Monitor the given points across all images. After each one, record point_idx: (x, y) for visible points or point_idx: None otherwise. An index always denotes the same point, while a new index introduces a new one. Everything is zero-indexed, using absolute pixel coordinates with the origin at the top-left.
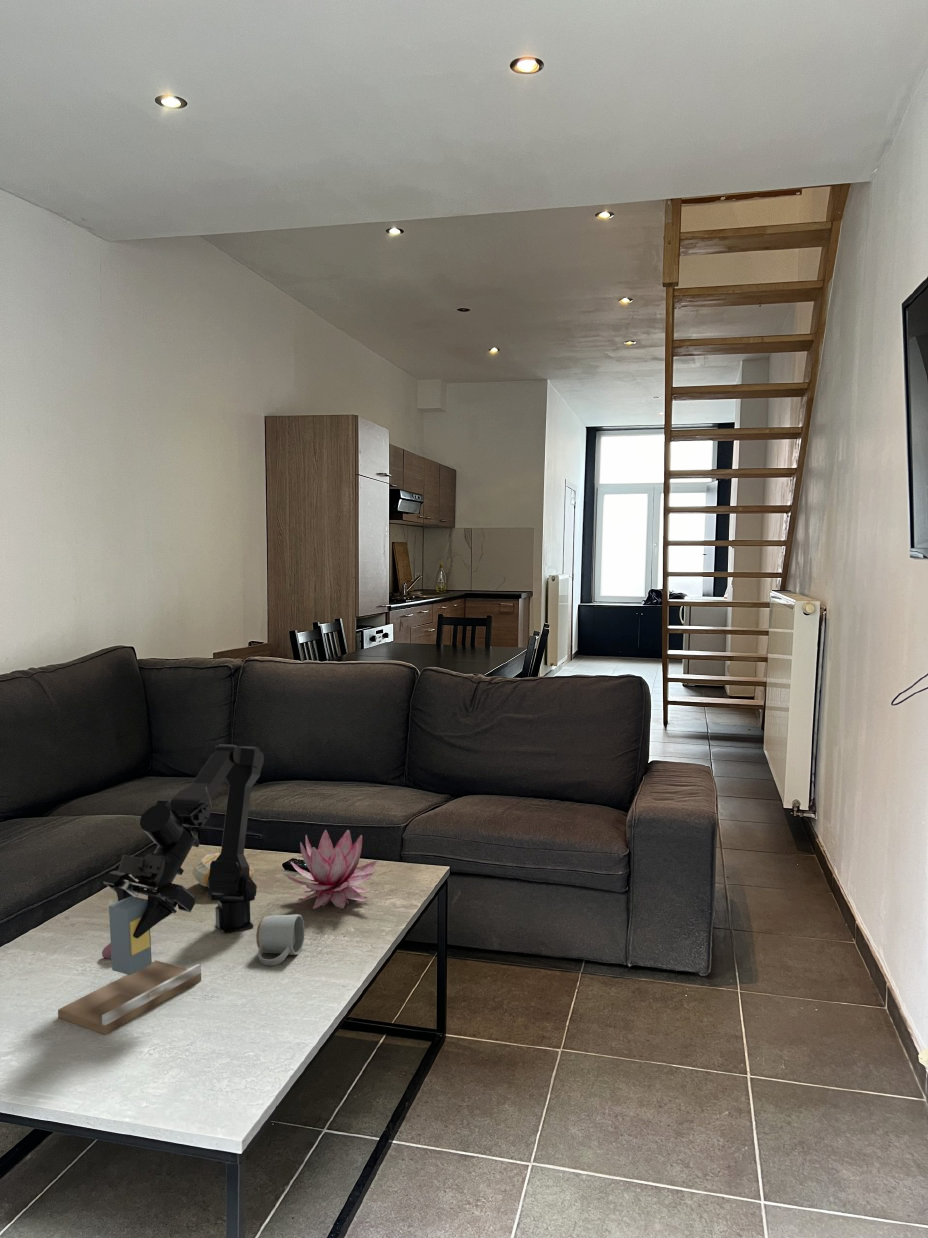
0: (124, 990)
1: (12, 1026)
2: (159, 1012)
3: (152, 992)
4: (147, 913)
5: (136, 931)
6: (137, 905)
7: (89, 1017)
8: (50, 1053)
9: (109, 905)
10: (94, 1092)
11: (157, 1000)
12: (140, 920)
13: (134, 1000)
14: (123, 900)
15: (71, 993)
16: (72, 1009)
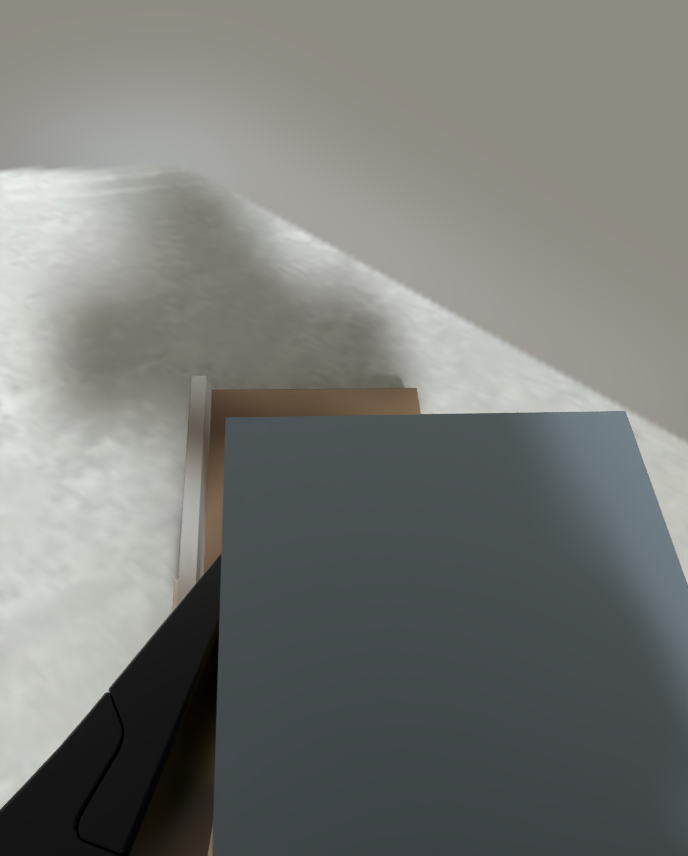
0: None
1: (465, 324)
2: (143, 589)
3: (173, 597)
4: (67, 762)
5: (207, 572)
6: (219, 694)
7: (287, 399)
8: (260, 287)
9: (616, 411)
10: (6, 227)
11: None
12: (198, 653)
13: (183, 502)
14: (681, 694)
15: None
16: (380, 407)
